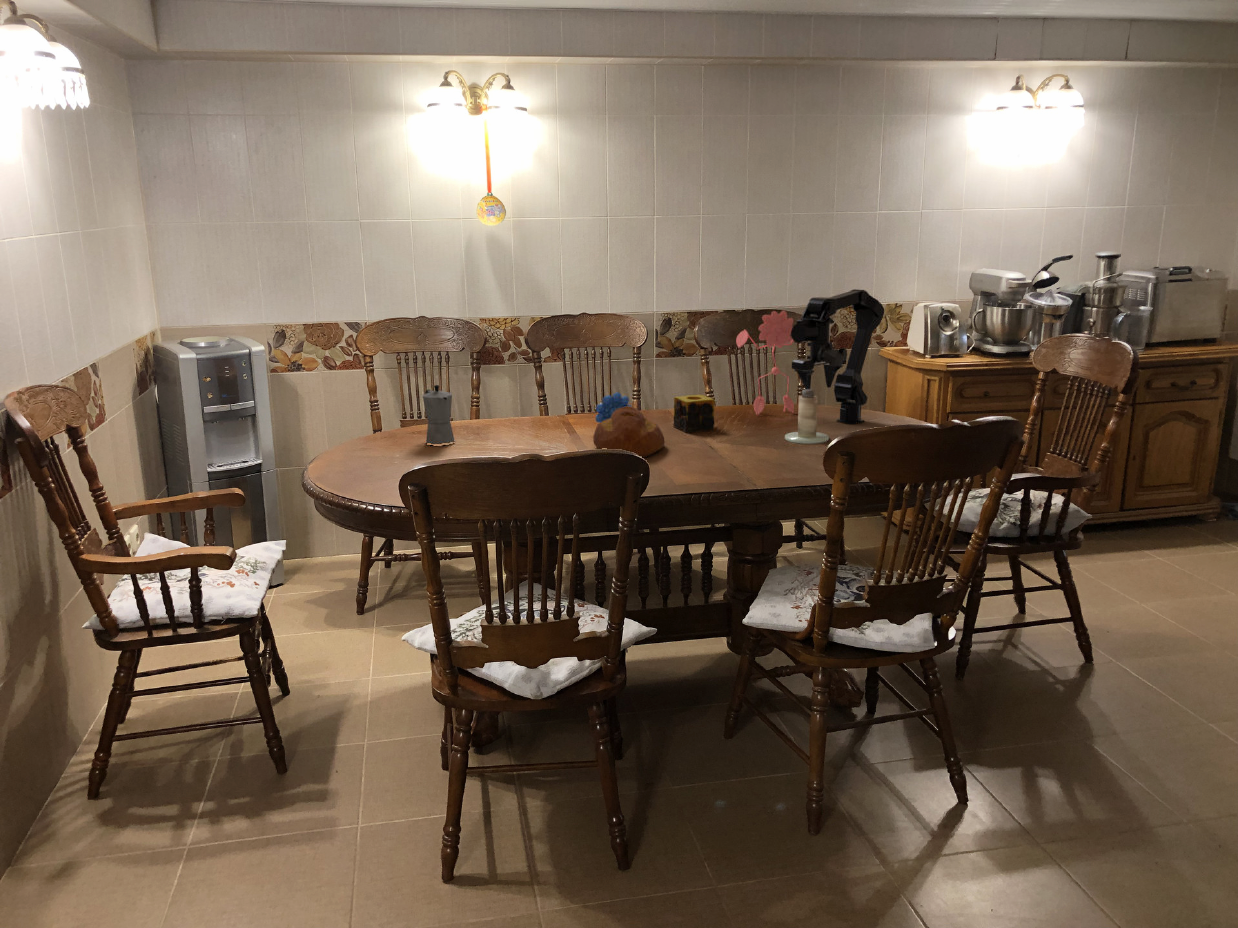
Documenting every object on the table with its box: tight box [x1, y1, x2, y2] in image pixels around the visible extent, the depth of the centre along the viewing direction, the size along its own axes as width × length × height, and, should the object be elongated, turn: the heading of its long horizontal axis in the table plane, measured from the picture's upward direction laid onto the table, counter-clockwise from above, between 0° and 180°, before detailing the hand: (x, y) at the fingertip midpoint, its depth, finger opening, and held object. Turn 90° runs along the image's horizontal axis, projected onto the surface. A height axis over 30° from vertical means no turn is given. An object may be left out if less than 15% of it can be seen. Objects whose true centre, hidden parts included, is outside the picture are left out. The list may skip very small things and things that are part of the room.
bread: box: [592, 405, 665, 458], centre depth 288 cm, size 21×33×12 cm, turn 179°
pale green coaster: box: [784, 431, 830, 445], centre depth 296 cm, size 13×13×1 cm
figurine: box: [735, 310, 795, 421], centre depth 325 cm, size 15×26×35 cm, turn 95°
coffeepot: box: [422, 384, 456, 444], centre depth 299 cm, size 15×9×18 cm, turn 33°
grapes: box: [595, 392, 632, 423], centre depth 313 cm, size 12×7×12 cm, turn 97°
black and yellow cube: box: [673, 394, 715, 434], centre depth 312 cm, size 10×10×10 cm
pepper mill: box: [797, 388, 818, 438], centre depth 295 cm, size 6×6×14 cm
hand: (818, 389), depth 305 cm, fingers open, 9 cm apart
